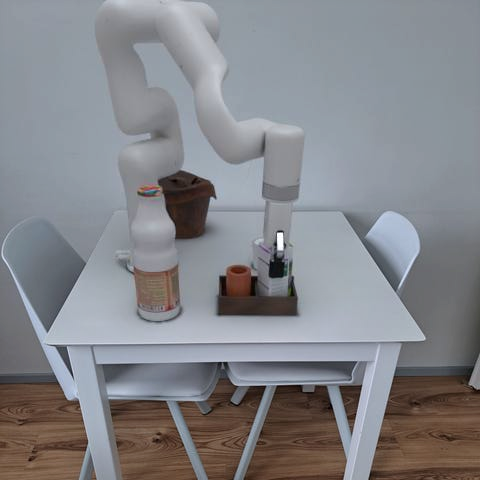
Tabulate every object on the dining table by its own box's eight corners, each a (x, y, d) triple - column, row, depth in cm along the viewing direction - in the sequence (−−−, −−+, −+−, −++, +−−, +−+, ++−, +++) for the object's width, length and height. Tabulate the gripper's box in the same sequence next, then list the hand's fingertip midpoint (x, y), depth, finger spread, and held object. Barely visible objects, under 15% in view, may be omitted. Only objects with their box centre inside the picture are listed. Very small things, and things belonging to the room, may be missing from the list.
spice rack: (218, 314, 110) (218, 293, 107) (219, 296, 118) (219, 275, 115) (296, 315, 111) (298, 293, 108) (292, 296, 118) (293, 275, 115)
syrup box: (268, 310, 111) (271, 250, 103) (256, 298, 115) (258, 240, 108) (290, 304, 113) (294, 245, 105) (277, 293, 117) (280, 236, 110)
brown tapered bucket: (215, 243, 145) (215, 182, 136) (147, 241, 145) (142, 180, 136) (218, 221, 160) (218, 165, 151) (157, 220, 160) (152, 164, 151)
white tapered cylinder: (274, 273, 129) (276, 248, 125) (248, 270, 130) (249, 245, 126) (278, 262, 134) (279, 238, 131) (253, 259, 136) (254, 235, 132)
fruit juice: (148, 326, 105) (136, 198, 91) (131, 307, 112) (118, 185, 98) (187, 315, 110) (182, 190, 95) (169, 297, 116) (161, 178, 102)
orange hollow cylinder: (226, 311, 112) (226, 275, 107) (226, 299, 116) (226, 264, 112) (250, 311, 112) (251, 275, 107) (249, 299, 116) (250, 264, 112)
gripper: (259, 177, 107) (255, 252, 117) (264, 204, 93) (259, 287, 102) (294, 178, 108) (287, 253, 117) (304, 205, 93) (295, 288, 102)
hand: (274, 268), depth 110 cm, fingers closed on syrup box, 7 cm apart
